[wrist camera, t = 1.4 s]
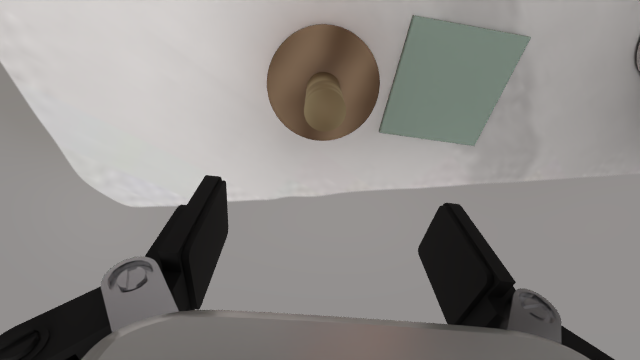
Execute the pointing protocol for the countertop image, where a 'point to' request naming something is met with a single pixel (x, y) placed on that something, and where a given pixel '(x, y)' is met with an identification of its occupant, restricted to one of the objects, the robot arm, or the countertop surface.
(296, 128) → the lid
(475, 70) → the mat
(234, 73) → the countertop surface
